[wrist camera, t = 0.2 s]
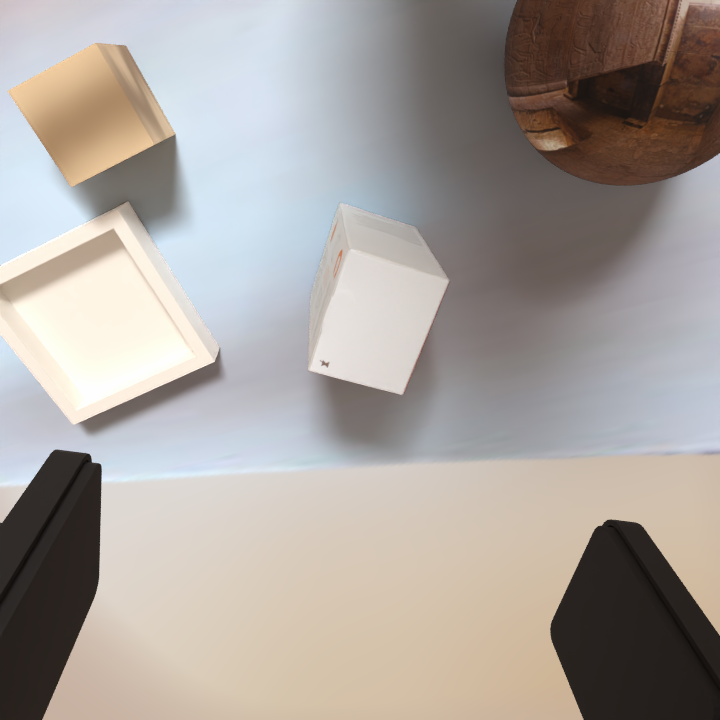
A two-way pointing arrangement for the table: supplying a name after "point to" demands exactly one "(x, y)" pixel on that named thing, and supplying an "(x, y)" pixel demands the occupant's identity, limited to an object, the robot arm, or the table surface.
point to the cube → (92, 111)
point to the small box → (373, 300)
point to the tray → (101, 316)
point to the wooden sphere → (617, 85)
